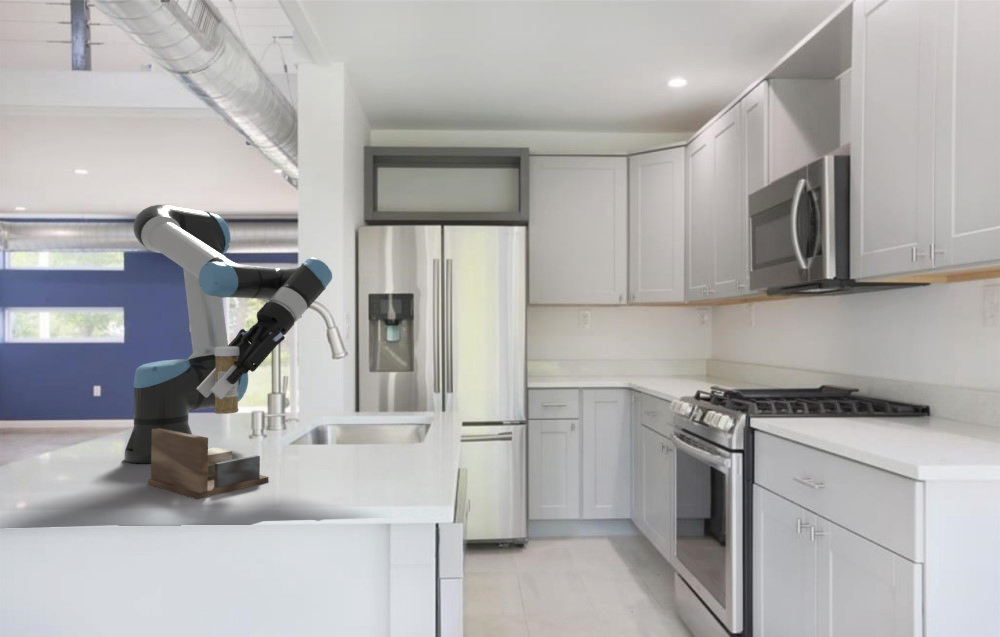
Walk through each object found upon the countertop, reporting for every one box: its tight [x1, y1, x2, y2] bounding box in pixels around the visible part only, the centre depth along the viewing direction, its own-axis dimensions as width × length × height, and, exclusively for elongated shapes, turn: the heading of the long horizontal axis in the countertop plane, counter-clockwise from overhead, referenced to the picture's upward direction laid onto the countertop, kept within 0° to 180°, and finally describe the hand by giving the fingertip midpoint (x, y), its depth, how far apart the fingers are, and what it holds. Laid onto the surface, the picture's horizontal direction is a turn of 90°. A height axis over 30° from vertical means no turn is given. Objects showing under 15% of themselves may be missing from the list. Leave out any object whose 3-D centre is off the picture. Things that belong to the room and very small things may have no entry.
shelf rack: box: [147, 428, 269, 500], centre depth 121 cm, size 15×18×11 cm
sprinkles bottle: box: [214, 346, 239, 415], centre depth 120 cm, size 5×5×14 cm
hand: (208, 393), depth 117 cm, fingers closed on sprinkles bottle, 4 cm apart
